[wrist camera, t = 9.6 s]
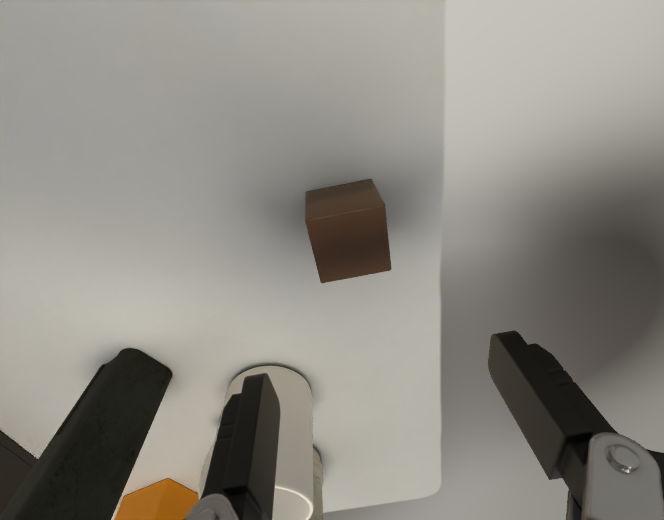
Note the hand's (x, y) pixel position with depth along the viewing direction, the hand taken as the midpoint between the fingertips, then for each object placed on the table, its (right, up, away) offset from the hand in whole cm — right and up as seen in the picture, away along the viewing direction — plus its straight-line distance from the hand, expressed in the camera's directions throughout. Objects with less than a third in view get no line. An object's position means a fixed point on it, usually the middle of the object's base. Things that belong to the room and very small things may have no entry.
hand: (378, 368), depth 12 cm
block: (-1, +7, +11) cm, 13 cm away
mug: (-9, -10, +21) cm, 26 cm away
